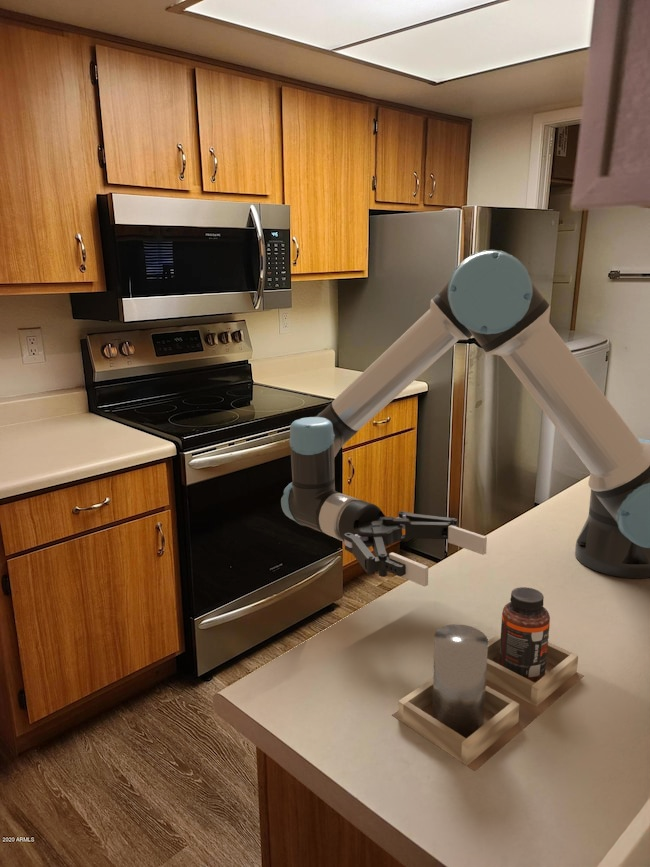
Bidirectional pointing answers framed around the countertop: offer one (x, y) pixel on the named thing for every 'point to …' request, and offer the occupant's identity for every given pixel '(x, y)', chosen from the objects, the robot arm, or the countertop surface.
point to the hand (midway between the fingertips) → (457, 560)
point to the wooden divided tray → (493, 705)
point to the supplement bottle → (525, 634)
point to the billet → (460, 678)
